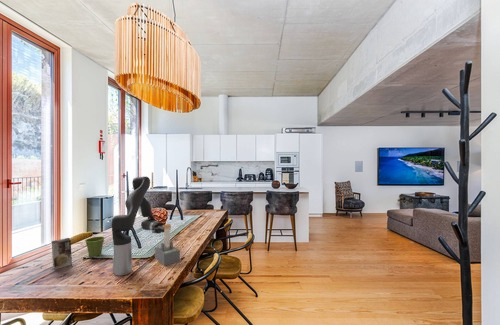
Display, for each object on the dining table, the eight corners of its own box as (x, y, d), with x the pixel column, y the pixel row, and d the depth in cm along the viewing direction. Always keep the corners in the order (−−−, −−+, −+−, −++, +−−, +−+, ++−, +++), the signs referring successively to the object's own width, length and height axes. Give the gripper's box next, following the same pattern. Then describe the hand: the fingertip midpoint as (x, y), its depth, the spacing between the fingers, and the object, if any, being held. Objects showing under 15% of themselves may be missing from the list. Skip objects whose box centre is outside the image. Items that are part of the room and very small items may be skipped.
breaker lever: (163, 247, 162) (163, 224, 161) (168, 246, 165) (169, 223, 163) (164, 249, 161) (165, 226, 159) (170, 247, 163) (170, 224, 162)
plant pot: (96, 259, 167) (95, 242, 166) (80, 258, 169) (80, 241, 169) (109, 252, 178) (108, 236, 178) (95, 251, 180) (94, 235, 180)
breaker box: (155, 258, 166) (154, 241, 165) (170, 254, 172) (169, 238, 172) (164, 266, 153) (163, 248, 153) (179, 261, 160) (179, 244, 160)
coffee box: (70, 262, 162) (69, 237, 162) (72, 265, 158) (71, 239, 158) (52, 266, 156) (51, 240, 156) (53, 269, 151) (52, 243, 151)
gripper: (146, 223, 171) (155, 227, 158) (165, 219, 180) (175, 223, 167) (147, 234, 171) (156, 239, 158) (166, 230, 180) (176, 234, 167)
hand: (166, 231), depth 162 cm, fingers closed
